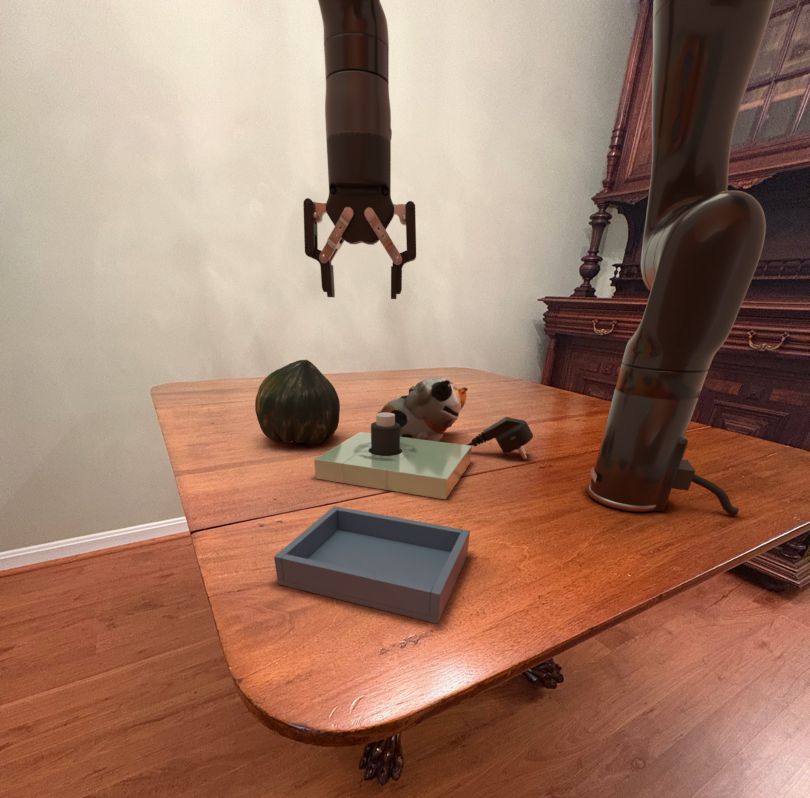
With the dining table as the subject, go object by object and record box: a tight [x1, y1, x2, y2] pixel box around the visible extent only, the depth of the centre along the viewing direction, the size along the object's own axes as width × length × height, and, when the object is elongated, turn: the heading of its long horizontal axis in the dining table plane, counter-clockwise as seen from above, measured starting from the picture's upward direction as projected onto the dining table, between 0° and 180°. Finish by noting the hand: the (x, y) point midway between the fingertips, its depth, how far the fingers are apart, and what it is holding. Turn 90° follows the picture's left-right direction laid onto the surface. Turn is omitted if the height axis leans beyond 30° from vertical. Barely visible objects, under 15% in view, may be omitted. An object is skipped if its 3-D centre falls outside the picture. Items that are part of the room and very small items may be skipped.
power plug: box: [466, 416, 534, 461], centre depth 74 cm, size 6×8×12 cm
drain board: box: [313, 431, 473, 500], centre depth 66 cm, size 20×16×3 cm
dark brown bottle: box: [370, 412, 400, 456], centre depth 65 cm, size 4×4×8 cm
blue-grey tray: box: [273, 505, 471, 624], centre depth 42 cm, size 16×12×3 cm
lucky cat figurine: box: [376, 377, 468, 442], centre depth 80 cm, size 15×12×14 cm
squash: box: [254, 359, 341, 446], centre depth 76 cm, size 14×15×15 cm
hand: (362, 298), depth 58 cm, fingers open, 8 cm apart
